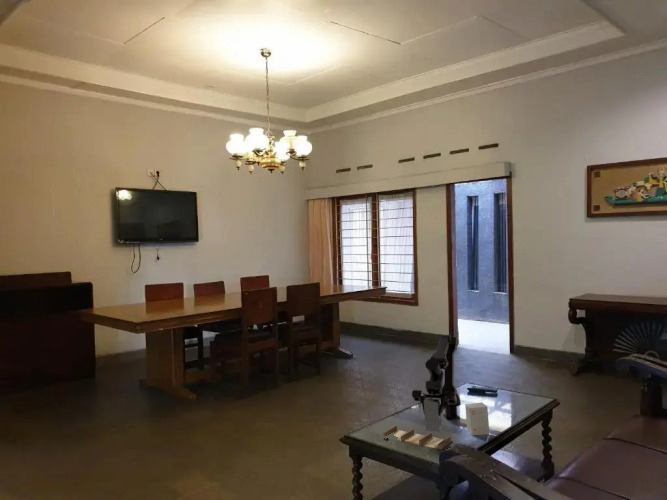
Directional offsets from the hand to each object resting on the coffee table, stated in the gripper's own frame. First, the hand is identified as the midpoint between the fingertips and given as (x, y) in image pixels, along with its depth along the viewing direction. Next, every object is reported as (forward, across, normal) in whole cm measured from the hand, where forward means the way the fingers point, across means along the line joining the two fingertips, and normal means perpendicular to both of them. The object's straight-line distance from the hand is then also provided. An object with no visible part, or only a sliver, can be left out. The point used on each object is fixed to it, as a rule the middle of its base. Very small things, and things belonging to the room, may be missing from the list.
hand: (431, 414), depth 217 cm
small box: (-3, +16, +22) cm, 27 cm away
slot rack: (+7, -8, +12) cm, 16 cm away
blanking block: (+4, 0, +6) cm, 7 cm away
